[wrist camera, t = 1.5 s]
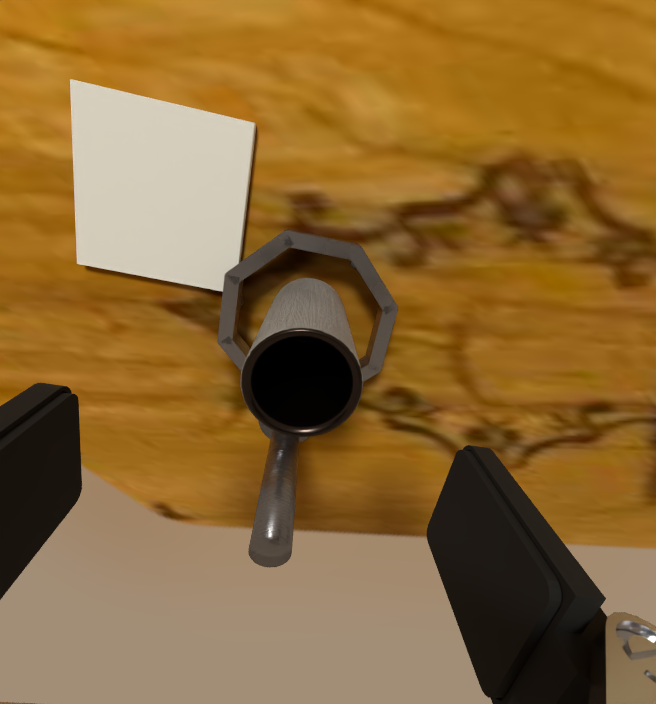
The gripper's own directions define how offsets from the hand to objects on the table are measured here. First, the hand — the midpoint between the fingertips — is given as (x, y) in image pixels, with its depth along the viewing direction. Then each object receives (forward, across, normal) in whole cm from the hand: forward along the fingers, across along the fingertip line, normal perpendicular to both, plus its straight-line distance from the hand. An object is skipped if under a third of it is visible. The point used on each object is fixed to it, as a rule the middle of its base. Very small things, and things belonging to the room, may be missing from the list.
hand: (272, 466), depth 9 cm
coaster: (+15, +8, -5) cm, 18 cm away
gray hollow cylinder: (+15, -1, 0) cm, 15 cm away
